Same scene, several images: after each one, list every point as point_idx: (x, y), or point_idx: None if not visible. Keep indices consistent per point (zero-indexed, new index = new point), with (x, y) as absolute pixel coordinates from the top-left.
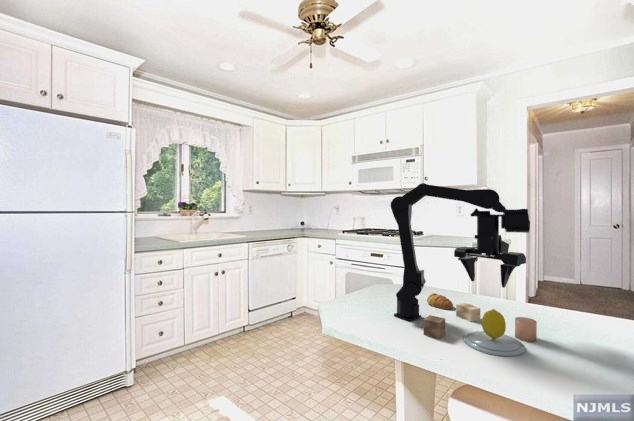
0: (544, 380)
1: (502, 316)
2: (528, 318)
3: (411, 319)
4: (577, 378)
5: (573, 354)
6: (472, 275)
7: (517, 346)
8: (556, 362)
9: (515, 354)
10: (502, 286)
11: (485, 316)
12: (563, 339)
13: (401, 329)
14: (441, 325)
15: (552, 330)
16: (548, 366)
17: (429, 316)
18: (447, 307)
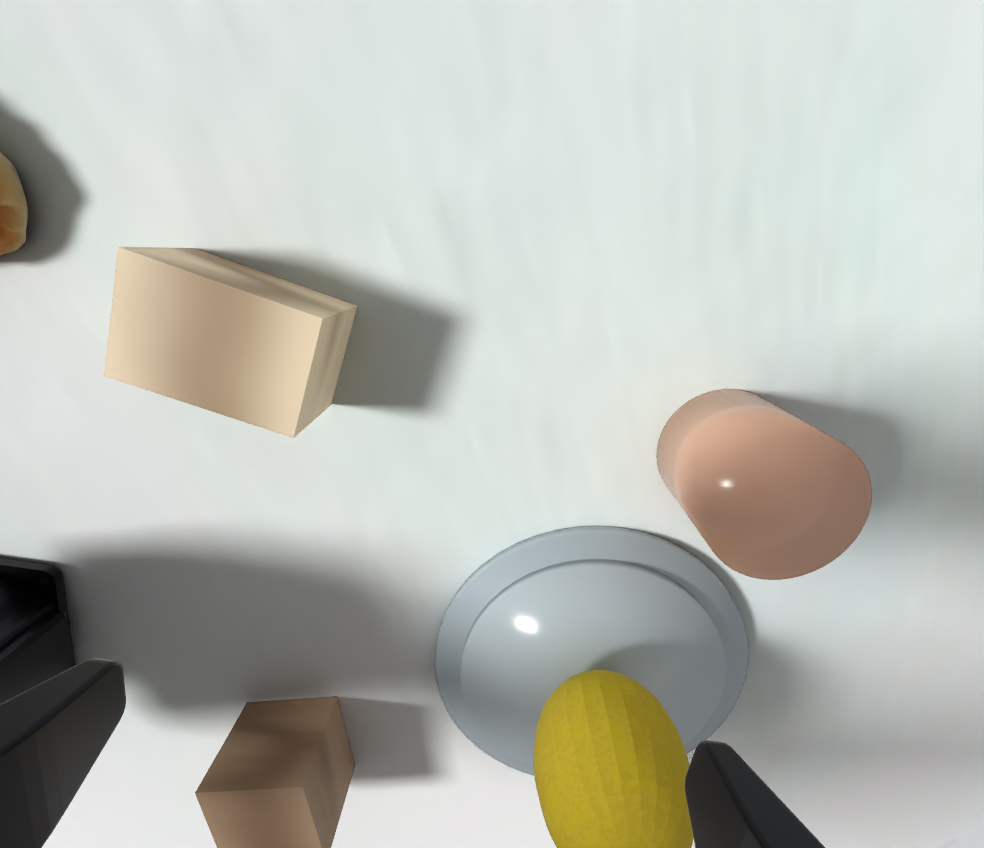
0: (836, 832)
1: (692, 839)
2: (803, 448)
3: (69, 662)
4: (957, 750)
5: (980, 512)
6: (15, 832)
7: (720, 686)
8: (886, 663)
9: (714, 725)
10: (698, 812)
11: None
12: (952, 285)
13: (150, 783)
14: (327, 808)
15: (888, 113)
16: (851, 722)
17: (212, 812)
18: (5, 243)
